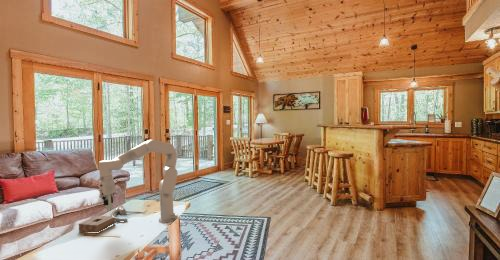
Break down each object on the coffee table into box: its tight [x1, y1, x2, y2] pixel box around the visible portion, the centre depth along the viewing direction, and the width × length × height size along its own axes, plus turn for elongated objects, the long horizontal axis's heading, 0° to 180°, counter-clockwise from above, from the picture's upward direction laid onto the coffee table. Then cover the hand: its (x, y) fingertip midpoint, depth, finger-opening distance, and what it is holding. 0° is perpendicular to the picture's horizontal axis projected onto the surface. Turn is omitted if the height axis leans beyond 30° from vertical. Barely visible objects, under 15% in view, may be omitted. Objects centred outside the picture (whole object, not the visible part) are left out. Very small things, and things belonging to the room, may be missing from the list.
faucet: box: [110, 204, 146, 223], centre depth 211 cm, size 5×28×28 cm
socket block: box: [78, 215, 116, 234], centre depth 188 cm, size 16×16×6 cm
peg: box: [105, 194, 113, 209], centre depth 180 cm, size 4×4×12 cm
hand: (108, 203), depth 180 cm, fingers closed on peg, 3 cm apart
